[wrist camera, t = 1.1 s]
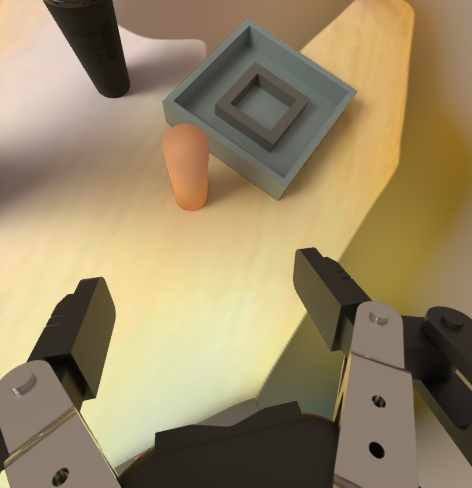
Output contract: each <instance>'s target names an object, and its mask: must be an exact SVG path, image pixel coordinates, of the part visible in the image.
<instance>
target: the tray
mask: <svg viewBox="0 0 472 488" xmlns="http://www.w3.org/2000/svg"><path fill="white" fill-rule="evenodd" d="M356 93H357V90H355V89H354V88H352V87H351V86H349V85H348V84H346V83H345V82H343V81H342V80H340V79H339V78H337V77H336V76H334V75H333V74H331V73H330V72H328V71H327V70H325V69H324V68H322V67H321V66H319V65H318V64H316V63H315V62H313V61H312V60H310V59H309V58H307V57H306V56H304V55H303V54H301V53H300V52H298V51H297V50H295V49H294V48H292V47H291V46H289V45H287V44H286V43H285V42H283V41H281V40H280V39H279V38H277V37H276V36H274V35H273V34H271V33H269V32H268V31H266V30H265V29H263V28H262V27H261V26H259V25H257V24H256V23H254V22H253V21H252V20H250V19H249V18H248V19H247V20H245V22H243V23H242V25H240V27H238V28H237V29H236V30H235V31H234V32H233V33H232V34H231V35H230V36H229V37H228V38H227V39H226V40H225V41H224V42H223V43H222V44H221V45H220V46H219V47H218V48H217V49H216V50H215V51H214V52H213V53H212V54H211V55H210V56H209V57H208V58H207V59H206V60H204V61H203V62H202V63H201V64H200V65H199V66H198V67H197V68H196V69H195V70H194V71H193V72H192V73H191V74H190V75H189V76H188V77H187V78H186V79H185V80H184V81H183V82H182V83H181V84H180V85H179V86H178V87H177V88H176V89H175V90H174V91H173V92H172V93H171V94H170V95H169V96H168V97H167V98H166V99H165V100H164V101H162V102H163V107H164V112H165V117H166V122H167V123H169V124H170V125H171V126H175V125H178V124H191V125H194V126H196V127H198V128H200V129H201V130H202V131H203V132H204V133H205V135H206V136H207V139H208V143H209V150H208V152H210V153H211V154H212V155H214V156H215V157H217V158H218V159H220V160H221V161H222V162H224V163H225V164H227V165H228V166H229V167H231V168H232V169H234V170H235V171H237V172H238V173H239V174H241V175H242V176H244V177H245V178H246V179H248V180H249V181H251V182H252V183H254V184H255V185H256V186H258V187H259V188H261V189H262V190H263V191H265V192H266V193H268V194H269V195H271V196H272V197H273V198H275V199H276V200H279V199H280V197H281V196H282V194H283V193H284V192H285V190H286V189H287V188H288V186H289V185H290V184H291V182H292V181H293V179H294V178H295V177H296V175H297V174H298V173H299V171H300V170H301V169H302V167H303V166H304V165H305V163H306V162H307V160H308V159H309V158H310V156H311V155H312V154H313V152H314V151H315V150H316V148H317V147H318V145H319V144H320V143H321V141H322V140H323V139H324V137H325V136H326V135H327V133H328V132H329V131H330V129H331V128H332V126H333V125H334V124H335V122H336V121H337V120H338V118H339V117H340V116H341V114H342V113H343V112H344V110H345V109H346V107H347V106H348V104H349V103H350V101H351V100H352V99H353V97H354V96H355V94H356Z"/></svg>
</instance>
